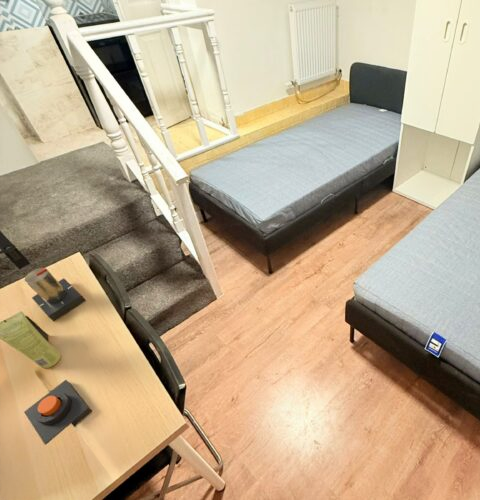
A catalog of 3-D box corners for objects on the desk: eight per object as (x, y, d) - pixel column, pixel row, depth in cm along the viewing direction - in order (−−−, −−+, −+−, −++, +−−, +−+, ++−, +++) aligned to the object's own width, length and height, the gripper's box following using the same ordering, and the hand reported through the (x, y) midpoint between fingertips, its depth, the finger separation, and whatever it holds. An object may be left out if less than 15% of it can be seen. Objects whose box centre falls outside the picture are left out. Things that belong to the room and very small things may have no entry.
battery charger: (34, 339, 98) (8, 317, 90) (49, 334, 99) (24, 312, 91) (32, 359, 94) (4, 338, 86) (47, 353, 95) (21, 331, 87)
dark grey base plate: (29, 414, 83) (18, 408, 80) (70, 382, 88) (61, 376, 86) (50, 447, 78) (39, 441, 75) (92, 410, 83) (83, 404, 80)
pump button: (39, 409, 80) (34, 405, 79) (57, 395, 83) (52, 392, 81) (47, 419, 79) (41, 416, 77) (64, 405, 81) (59, 402, 79)
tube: (49, 349, 96) (2, 309, 82) (66, 350, 95) (21, 310, 82) (36, 368, 92) (-16, 329, 78) (53, 369, 91) (3, 330, 78)
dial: (50, 306, 103) (29, 285, 96) (42, 298, 105) (20, 276, 98) (70, 294, 106) (50, 272, 99) (61, 285, 109) (41, 264, 102)
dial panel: (37, 303, 108) (30, 297, 106) (69, 283, 114) (63, 277, 111) (53, 322, 102) (47, 316, 100) (86, 300, 108) (81, 294, 106)
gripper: (-8, 201, 74) (48, 266, 89) (-44, 168, 85) (12, 231, 100) (-50, 218, 70) (17, 284, 84) (-81, 181, 81) (-18, 245, 96)
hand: (14, 255), depth 92 cm, fingers open, 13 cm apart
